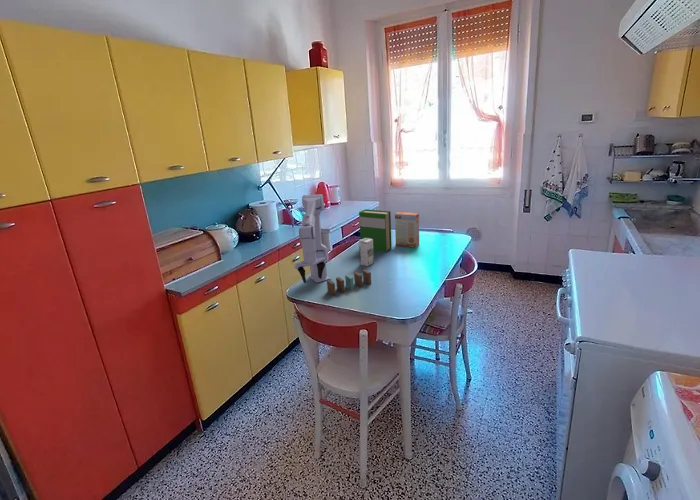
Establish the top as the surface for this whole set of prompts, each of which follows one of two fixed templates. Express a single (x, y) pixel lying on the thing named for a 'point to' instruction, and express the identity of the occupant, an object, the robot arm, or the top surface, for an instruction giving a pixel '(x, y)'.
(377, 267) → the top surface
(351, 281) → the teal tile
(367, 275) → the tile
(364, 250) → the syrup box
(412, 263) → the top surface
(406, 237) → the cracker box
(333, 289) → the tile
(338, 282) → the tile
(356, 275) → the tile
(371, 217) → the hardback book
